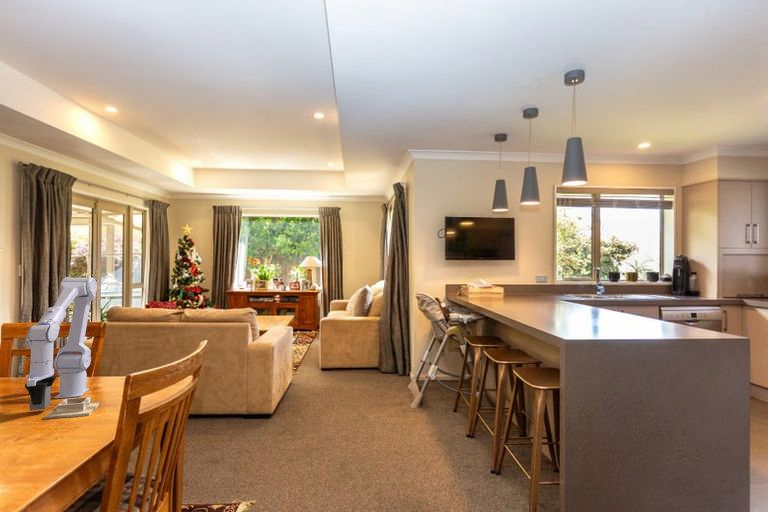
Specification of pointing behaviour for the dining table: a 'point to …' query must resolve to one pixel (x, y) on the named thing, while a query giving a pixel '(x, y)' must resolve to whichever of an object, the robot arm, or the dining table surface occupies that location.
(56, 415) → the holder box
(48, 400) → the plug
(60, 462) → the dining table surface
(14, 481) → the dining table surface
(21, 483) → the dining table surface
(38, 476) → the dining table surface
